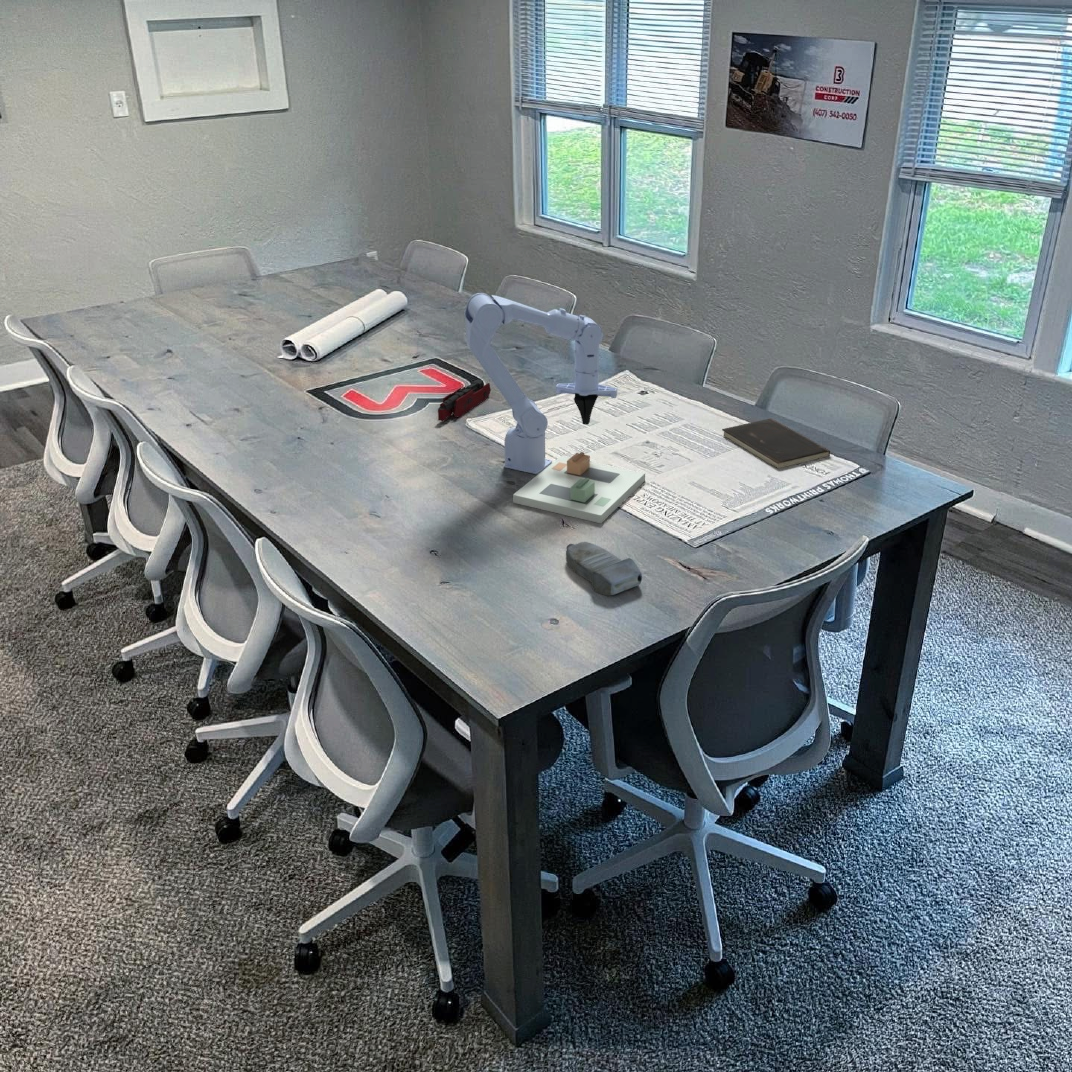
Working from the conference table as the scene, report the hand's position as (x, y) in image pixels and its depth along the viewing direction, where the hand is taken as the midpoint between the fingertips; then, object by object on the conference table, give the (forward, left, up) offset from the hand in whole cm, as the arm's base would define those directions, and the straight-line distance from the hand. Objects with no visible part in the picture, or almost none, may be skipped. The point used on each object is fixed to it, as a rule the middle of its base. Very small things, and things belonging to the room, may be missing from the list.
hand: (586, 422), depth 255 cm
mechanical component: (-44, +14, -10) cm, 48 cm away
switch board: (+7, -17, -9) cm, 21 cm away
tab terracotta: (+3, -11, -7) cm, 14 cm away
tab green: (+10, -23, -7) cm, 26 cm away
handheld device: (+26, -48, -10) cm, 56 cm away
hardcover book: (+39, +28, -10) cm, 49 cm away
